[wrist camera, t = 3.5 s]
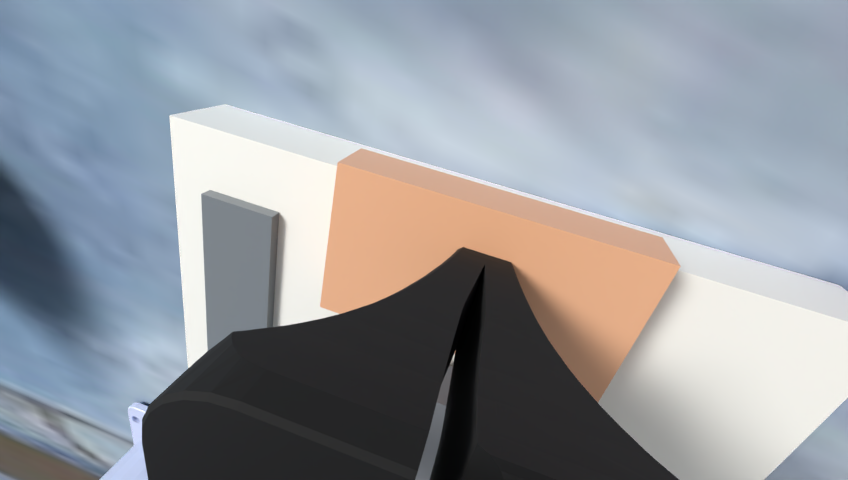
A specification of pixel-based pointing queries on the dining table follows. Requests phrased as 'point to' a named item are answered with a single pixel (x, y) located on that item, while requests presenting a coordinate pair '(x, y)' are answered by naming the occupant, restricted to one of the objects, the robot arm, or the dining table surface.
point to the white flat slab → (300, 302)
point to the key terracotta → (495, 255)
